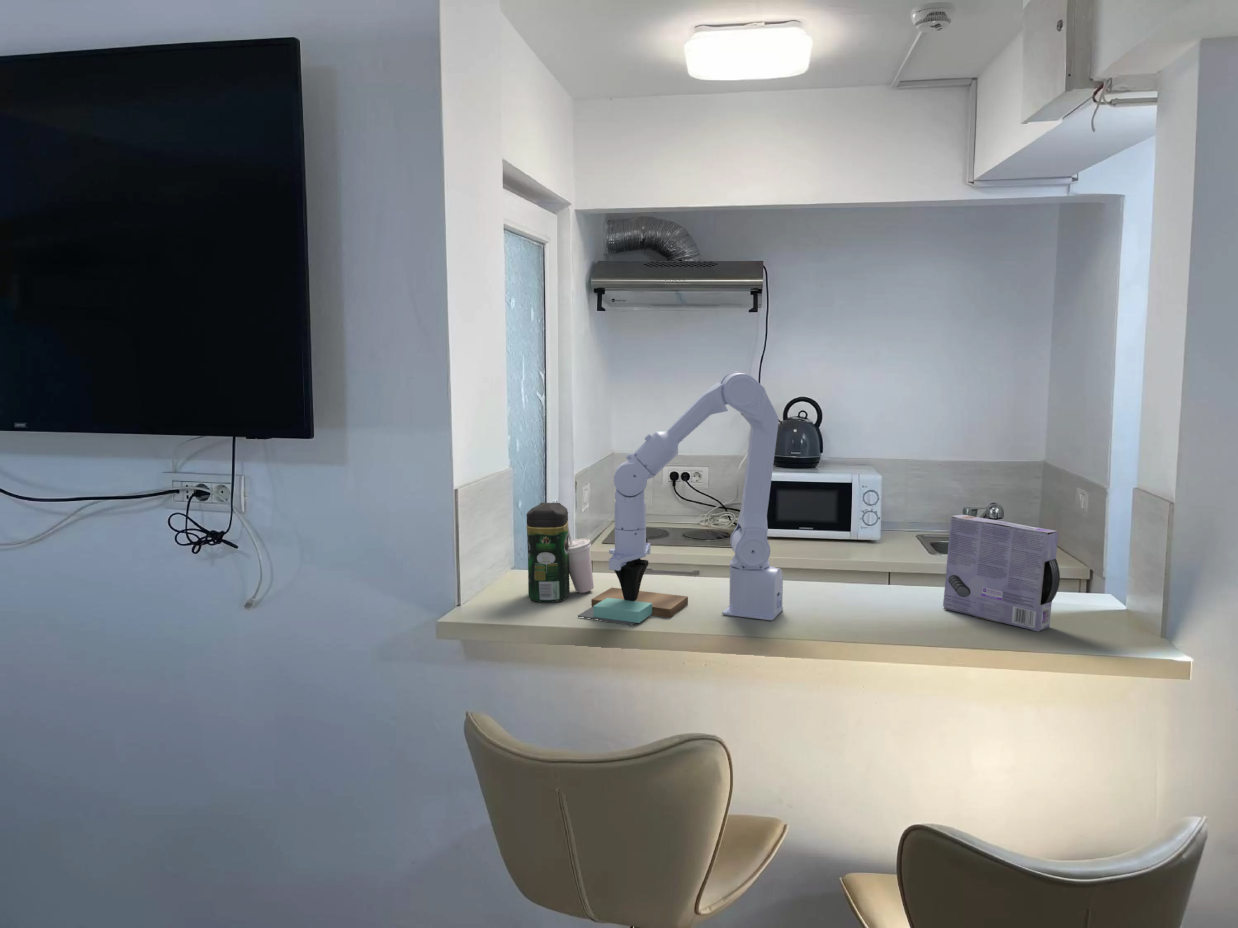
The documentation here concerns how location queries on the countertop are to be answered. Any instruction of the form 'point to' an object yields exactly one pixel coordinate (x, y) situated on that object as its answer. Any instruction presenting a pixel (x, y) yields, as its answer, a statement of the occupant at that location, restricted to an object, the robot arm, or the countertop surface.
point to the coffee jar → (548, 553)
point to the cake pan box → (1001, 571)
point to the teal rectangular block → (622, 610)
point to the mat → (589, 614)
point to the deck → (649, 601)
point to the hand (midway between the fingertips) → (630, 599)
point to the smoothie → (580, 564)
